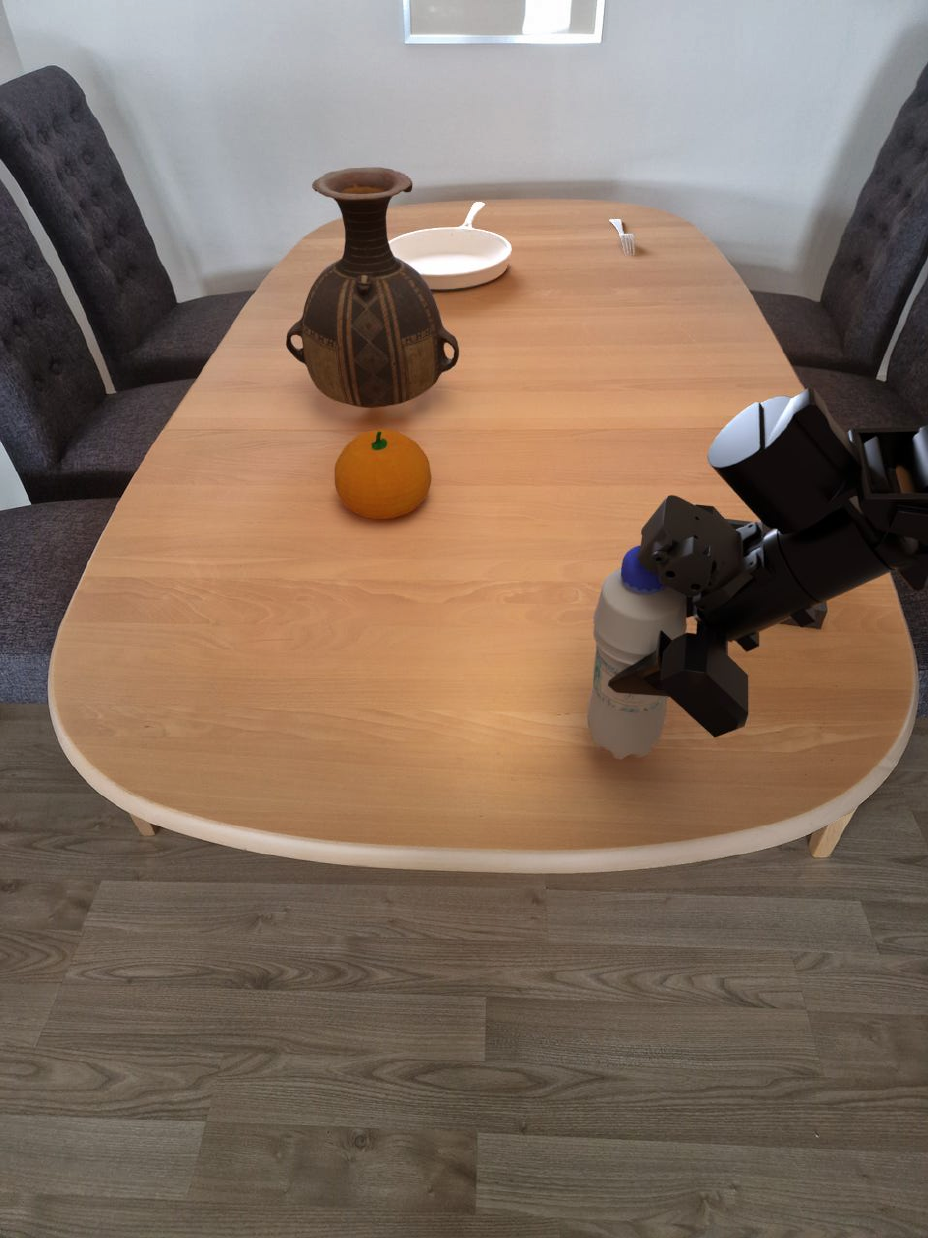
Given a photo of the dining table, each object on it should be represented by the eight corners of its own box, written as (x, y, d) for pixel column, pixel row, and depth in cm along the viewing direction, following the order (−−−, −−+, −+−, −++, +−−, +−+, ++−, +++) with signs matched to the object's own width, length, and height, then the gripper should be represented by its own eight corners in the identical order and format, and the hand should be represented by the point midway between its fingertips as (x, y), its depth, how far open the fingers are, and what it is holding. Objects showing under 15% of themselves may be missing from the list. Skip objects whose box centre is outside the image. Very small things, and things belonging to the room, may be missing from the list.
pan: (362, 289, 149) (359, 263, 146) (425, 221, 175) (424, 198, 172) (493, 299, 144) (493, 273, 140) (538, 228, 170) (538, 205, 167)
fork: (619, 231, 174) (620, 217, 172) (637, 255, 157) (638, 240, 155) (606, 232, 174) (607, 218, 172) (622, 255, 157) (623, 240, 155)
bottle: (575, 759, 67) (591, 577, 53) (590, 699, 72) (608, 517, 58) (657, 777, 65) (695, 593, 52) (667, 715, 70) (704, 531, 56)
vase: (279, 421, 115) (230, 193, 94) (348, 363, 128) (319, 150, 107) (422, 454, 108) (403, 214, 87) (481, 389, 120) (477, 165, 99)
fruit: (447, 484, 102) (443, 413, 96) (411, 538, 95) (404, 465, 88) (363, 469, 106) (353, 399, 99) (322, 520, 98) (308, 448, 91)
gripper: (729, 405, 56) (564, 517, 66) (725, 577, 43) (520, 684, 53) (819, 510, 60) (651, 601, 70) (841, 697, 47) (630, 776, 57)
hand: (616, 656), depth 62 cm, fingers closed on bottle, 6 cm apart
